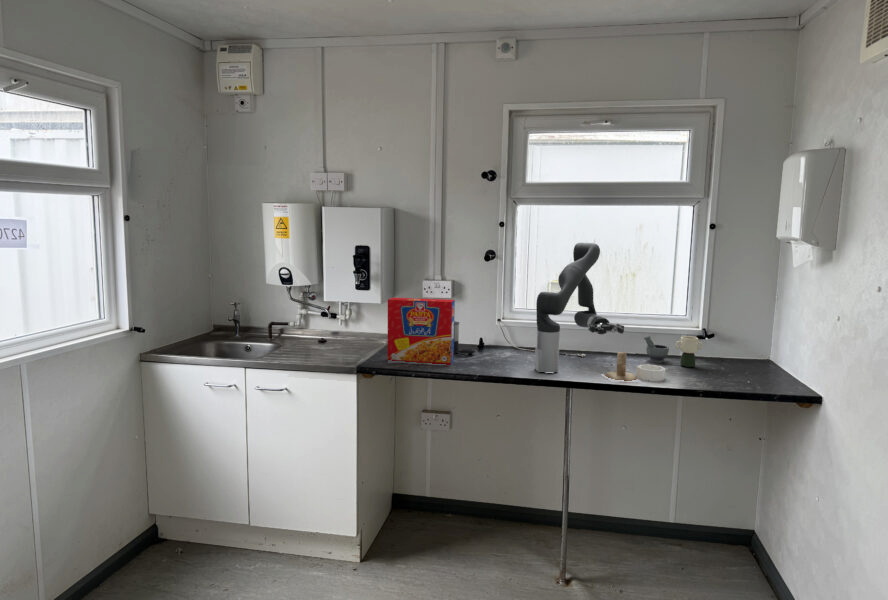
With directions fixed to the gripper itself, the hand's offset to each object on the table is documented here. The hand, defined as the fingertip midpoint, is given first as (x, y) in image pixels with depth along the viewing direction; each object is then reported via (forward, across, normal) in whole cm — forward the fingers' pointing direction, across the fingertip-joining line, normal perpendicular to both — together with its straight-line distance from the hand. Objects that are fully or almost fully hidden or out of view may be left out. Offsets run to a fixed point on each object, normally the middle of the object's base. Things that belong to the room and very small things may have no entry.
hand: (612, 331), depth 235 cm
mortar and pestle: (-16, +28, +18) cm, 37 cm away
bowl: (+12, +12, +17) cm, 24 cm away
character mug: (-6, +38, +18) cm, 42 cm away
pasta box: (-17, -79, +16) cm, 83 cm away
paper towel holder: (+12, 0, +16) cm, 20 cm away
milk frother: (-34, -61, +17) cm, 72 cm away
